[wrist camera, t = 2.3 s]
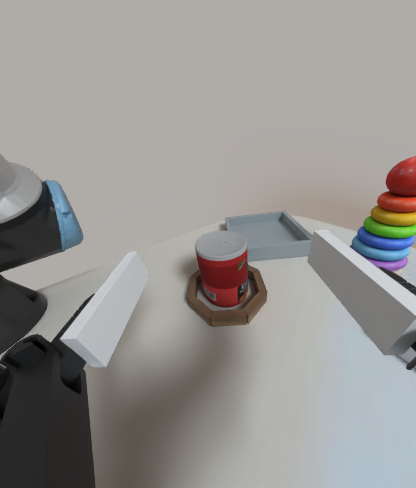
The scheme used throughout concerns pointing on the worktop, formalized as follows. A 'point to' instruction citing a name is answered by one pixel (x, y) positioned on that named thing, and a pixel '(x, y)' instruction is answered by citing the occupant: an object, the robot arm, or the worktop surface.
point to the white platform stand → (408, 355)
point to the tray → (271, 235)
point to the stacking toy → (391, 221)
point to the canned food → (223, 267)
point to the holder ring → (230, 315)
